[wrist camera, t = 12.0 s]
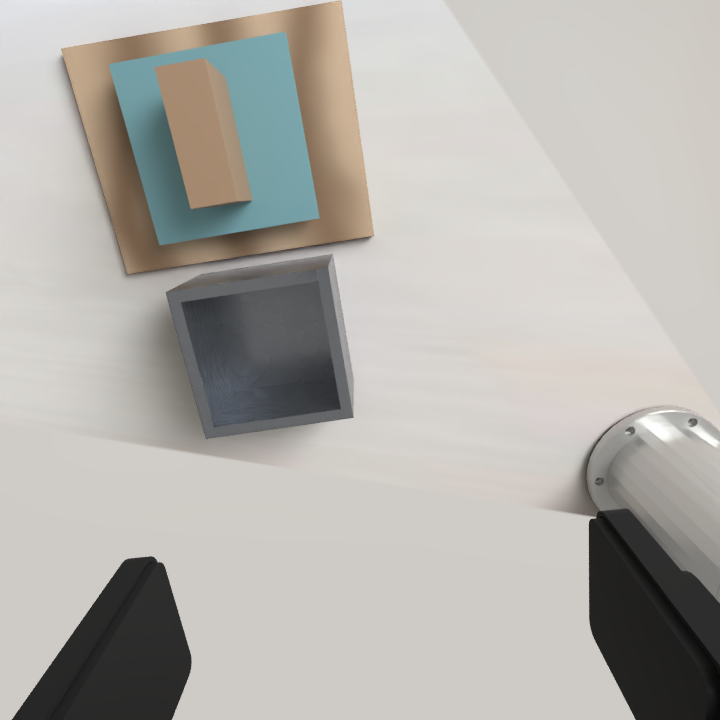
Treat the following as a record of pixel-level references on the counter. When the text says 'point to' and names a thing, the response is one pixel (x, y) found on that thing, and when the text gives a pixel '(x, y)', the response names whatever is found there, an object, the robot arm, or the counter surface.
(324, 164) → the wooden board
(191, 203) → the lid
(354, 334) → the counter surface
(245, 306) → the tin
